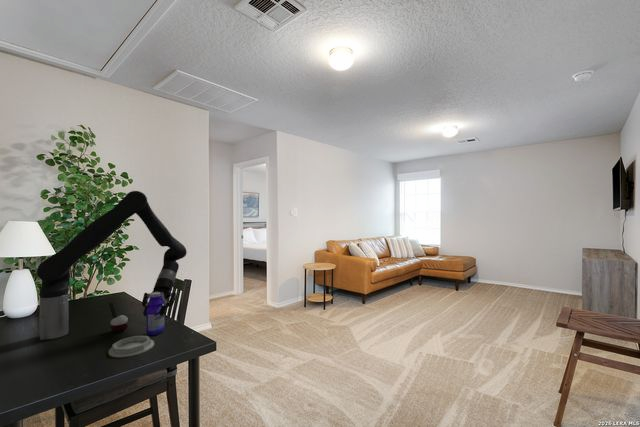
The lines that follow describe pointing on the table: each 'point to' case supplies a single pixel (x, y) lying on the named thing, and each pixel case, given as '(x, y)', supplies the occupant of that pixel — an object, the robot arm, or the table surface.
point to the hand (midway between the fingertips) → (153, 315)
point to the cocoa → (118, 321)
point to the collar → (131, 346)
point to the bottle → (154, 315)
